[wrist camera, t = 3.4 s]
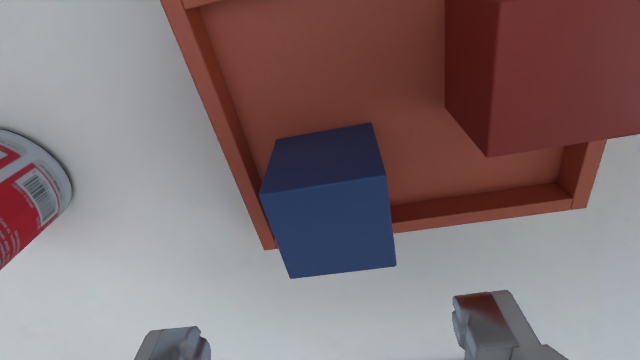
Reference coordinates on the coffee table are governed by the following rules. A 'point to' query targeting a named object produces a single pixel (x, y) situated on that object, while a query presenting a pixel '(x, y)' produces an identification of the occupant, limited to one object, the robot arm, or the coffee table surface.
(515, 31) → the red block
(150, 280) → the coffee table surface
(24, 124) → the coffee table surface
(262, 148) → the red tray
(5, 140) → the pill bottle
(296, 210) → the blue block
